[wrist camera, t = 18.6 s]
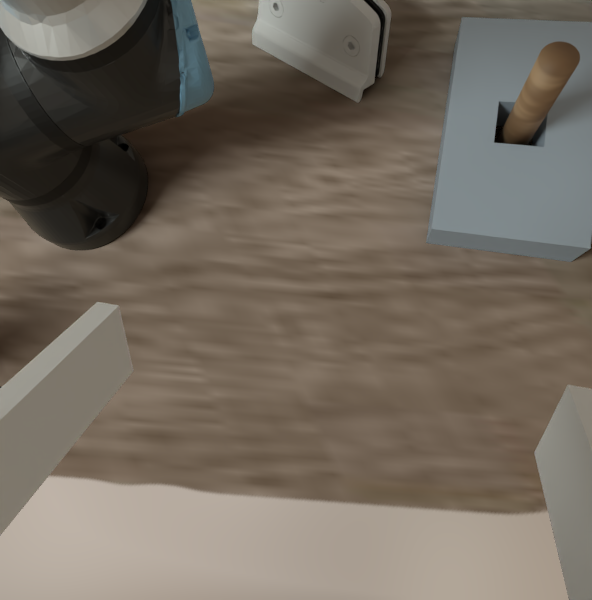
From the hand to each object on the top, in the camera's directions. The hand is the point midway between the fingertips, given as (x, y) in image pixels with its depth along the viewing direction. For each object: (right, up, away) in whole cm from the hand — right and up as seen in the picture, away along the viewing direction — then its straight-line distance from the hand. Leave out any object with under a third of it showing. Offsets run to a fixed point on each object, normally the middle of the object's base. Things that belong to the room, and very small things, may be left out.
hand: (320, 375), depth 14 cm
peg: (+22, +19, +35) cm, 45 cm away
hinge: (+3, +32, +41) cm, 52 cm away
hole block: (+22, +19, +35) cm, 45 cm away
